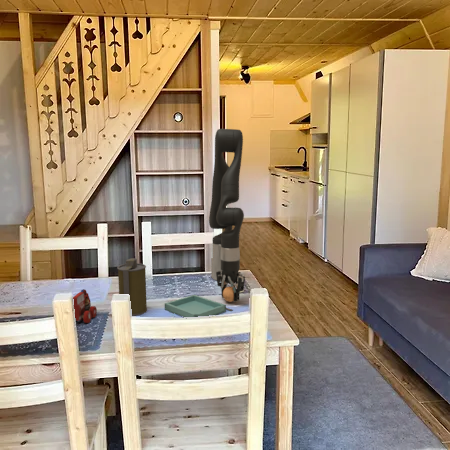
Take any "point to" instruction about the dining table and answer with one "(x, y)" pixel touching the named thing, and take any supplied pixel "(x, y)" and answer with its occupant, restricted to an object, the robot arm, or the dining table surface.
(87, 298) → the toy fire truck
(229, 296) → the ball
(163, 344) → the dining table surface
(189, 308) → the tray
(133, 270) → the canister
